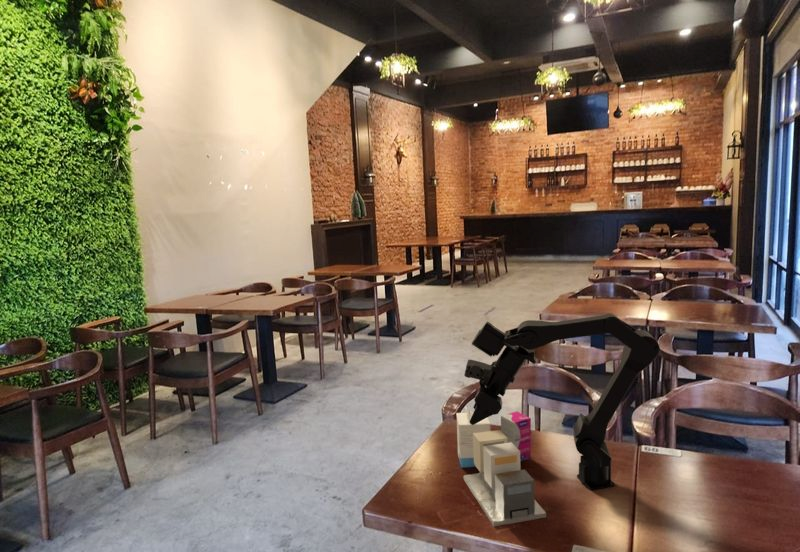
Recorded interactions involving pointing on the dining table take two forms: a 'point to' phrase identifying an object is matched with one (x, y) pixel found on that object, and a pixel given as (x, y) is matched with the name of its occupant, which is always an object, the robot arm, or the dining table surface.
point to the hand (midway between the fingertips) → (473, 416)
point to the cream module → (500, 460)
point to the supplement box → (518, 432)
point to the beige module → (485, 440)
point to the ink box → (468, 436)
